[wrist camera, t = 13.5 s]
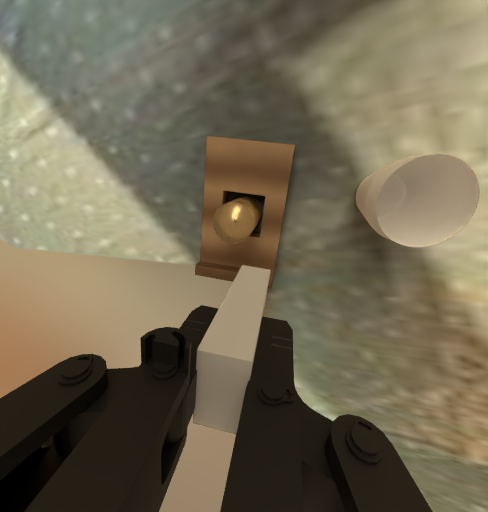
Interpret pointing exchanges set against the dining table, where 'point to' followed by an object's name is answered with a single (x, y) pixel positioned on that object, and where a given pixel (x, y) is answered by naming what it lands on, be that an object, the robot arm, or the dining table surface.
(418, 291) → the dining table surface
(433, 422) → the dining table surface
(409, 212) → the cup
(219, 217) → the golden brass cylinder
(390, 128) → the dining table surface
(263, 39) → the dining table surface
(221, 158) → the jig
